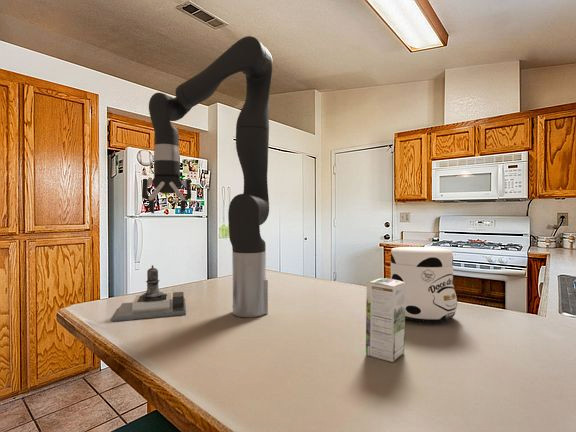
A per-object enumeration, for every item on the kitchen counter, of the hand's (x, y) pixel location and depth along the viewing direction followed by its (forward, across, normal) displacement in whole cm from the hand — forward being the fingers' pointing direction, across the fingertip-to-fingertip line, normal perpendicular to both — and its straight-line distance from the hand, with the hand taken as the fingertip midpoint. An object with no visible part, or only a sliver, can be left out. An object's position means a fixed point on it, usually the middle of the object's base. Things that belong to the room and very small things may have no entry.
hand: (167, 213), depth 105 cm
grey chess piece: (+27, +4, +7) cm, 28 cm away
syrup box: (+28, -42, +54) cm, 74 cm away
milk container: (+28, -65, +36) cm, 80 cm away
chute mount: (+28, +4, +7) cm, 29 cm away
